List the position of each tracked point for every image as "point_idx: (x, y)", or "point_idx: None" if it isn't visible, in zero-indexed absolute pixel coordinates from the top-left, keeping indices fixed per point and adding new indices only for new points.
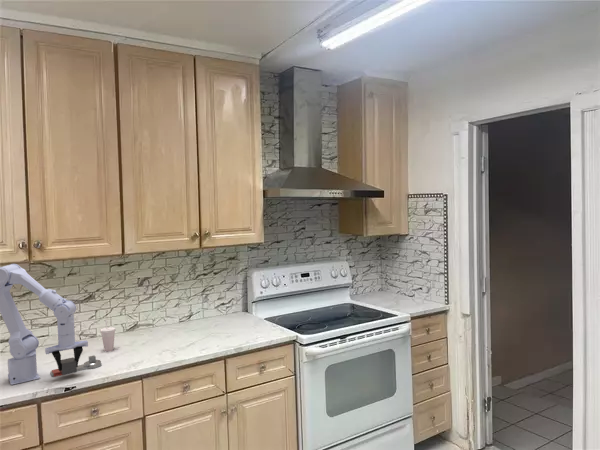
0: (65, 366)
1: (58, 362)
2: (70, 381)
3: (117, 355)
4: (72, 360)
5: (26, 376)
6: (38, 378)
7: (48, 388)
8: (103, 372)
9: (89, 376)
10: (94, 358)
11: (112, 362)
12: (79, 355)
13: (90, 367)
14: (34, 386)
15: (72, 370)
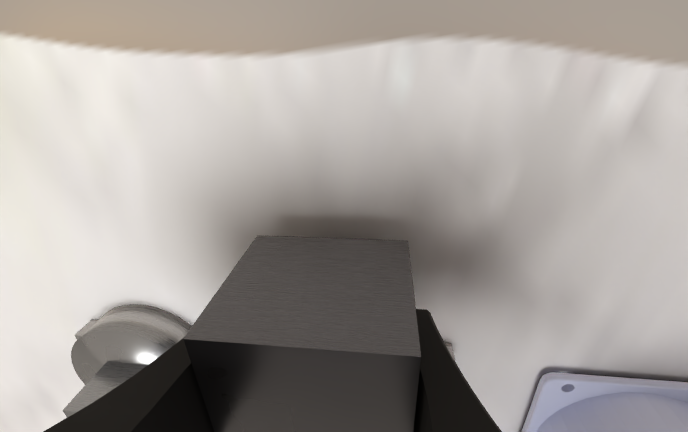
0: (364, 306)
1: (470, 413)
2: (346, 133)
3: (22, 412)
4: (240, 382)
5: (678, 427)
6: (555, 374)
7: (607, 69)
8: (47, 167)
9: (165, 148)
10: (85, 397)
11: (24, 331)
12: (73, 423)
13: (158, 322)
14: (669, 239)
15: (292, 255)
